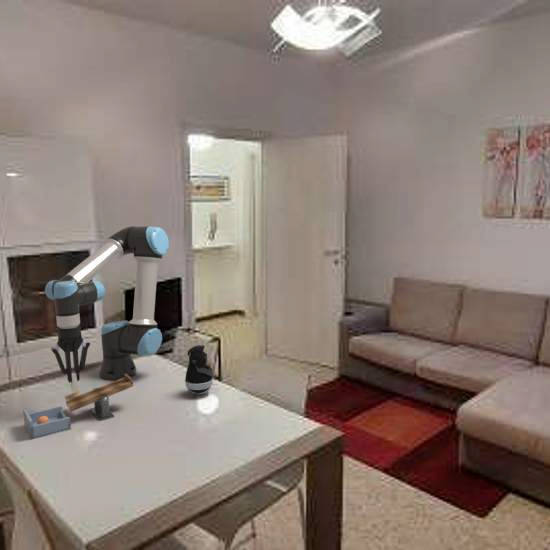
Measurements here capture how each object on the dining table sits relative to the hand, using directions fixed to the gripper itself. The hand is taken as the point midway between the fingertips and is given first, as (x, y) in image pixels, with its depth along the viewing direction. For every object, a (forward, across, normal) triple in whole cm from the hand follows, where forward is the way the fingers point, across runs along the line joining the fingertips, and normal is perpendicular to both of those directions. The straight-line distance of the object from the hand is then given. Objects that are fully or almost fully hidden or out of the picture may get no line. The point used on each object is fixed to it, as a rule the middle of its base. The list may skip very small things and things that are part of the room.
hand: (74, 389), depth 176 cm
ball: (+6, +12, +7) cm, 15 cm away
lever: (+2, -7, +3) cm, 8 cm away
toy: (+9, -43, +12) cm, 45 cm away
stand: (+8, -7, +7) cm, 13 cm away
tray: (+8, +11, +7) cm, 15 cm away
